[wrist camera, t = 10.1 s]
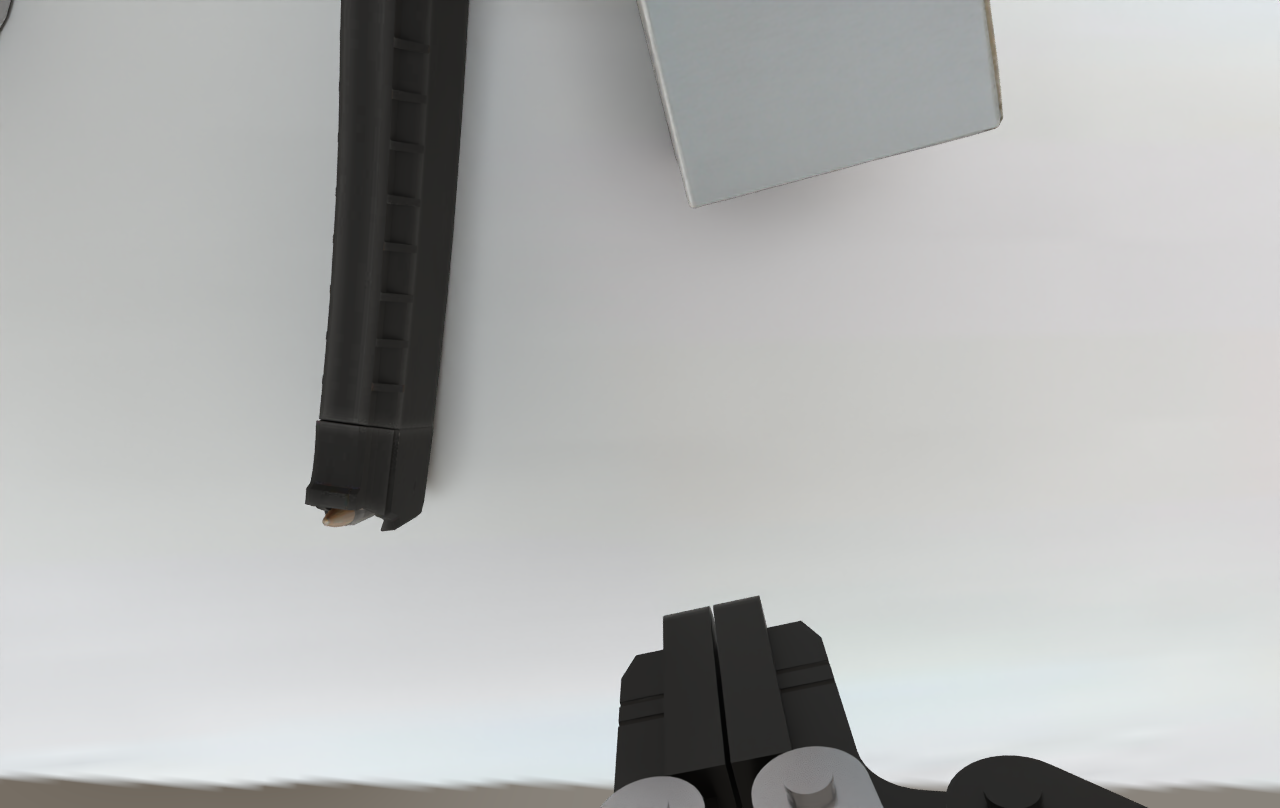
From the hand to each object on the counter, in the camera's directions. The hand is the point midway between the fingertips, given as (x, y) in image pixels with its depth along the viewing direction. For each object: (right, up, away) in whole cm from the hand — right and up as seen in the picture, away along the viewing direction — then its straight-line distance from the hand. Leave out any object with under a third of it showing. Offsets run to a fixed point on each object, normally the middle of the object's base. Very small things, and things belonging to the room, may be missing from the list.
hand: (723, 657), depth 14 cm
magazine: (-11, +14, +26) cm, 32 cm away
